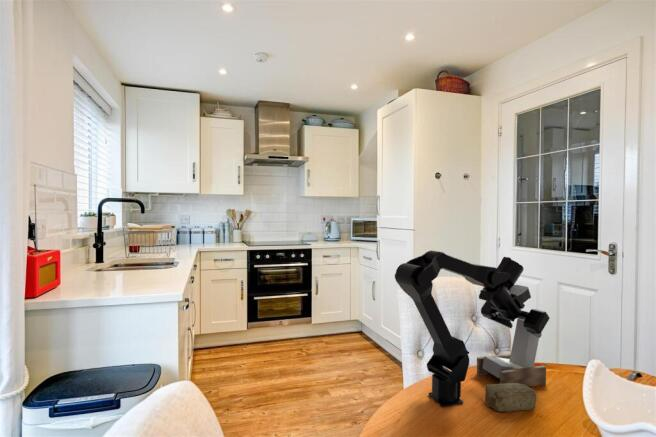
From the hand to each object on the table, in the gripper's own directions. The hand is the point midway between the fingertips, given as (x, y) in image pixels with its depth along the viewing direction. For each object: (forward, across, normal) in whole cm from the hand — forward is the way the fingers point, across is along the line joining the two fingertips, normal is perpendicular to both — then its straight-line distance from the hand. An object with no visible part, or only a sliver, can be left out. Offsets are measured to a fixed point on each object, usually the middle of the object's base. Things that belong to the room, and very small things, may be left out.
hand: (525, 331), depth 108 cm
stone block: (-3, -9, +23) cm, 25 cm away
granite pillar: (+6, 0, +8) cm, 10 cm away
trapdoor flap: (+5, +1, +13) cm, 14 cm away
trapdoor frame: (+6, +1, +13) cm, 15 cm away
